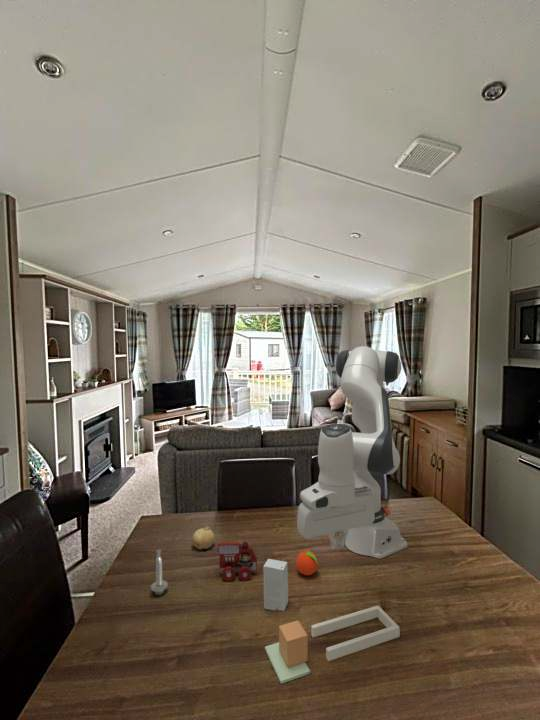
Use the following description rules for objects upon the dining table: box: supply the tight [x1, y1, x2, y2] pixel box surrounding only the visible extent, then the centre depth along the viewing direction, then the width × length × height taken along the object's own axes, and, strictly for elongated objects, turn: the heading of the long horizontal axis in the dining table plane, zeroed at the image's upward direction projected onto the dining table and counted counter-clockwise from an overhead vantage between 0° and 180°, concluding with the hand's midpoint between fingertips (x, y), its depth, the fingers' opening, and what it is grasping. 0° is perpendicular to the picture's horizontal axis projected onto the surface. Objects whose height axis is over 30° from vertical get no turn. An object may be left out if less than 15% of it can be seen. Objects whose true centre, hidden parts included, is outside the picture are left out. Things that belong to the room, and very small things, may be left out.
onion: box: [191, 524, 216, 551], centre depth 136 cm, size 8×8×7 cm
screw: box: [150, 549, 169, 596], centre depth 110 cm, size 13×5×5 cm
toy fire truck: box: [217, 540, 258, 582], centre depth 119 cm, size 7×12×10 cm, turn 93°
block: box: [278, 620, 309, 668], centre depth 87 cm, size 5×5×6 cm
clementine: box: [295, 550, 319, 576], centre depth 119 cm, size 8×7×7 cm
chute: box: [310, 605, 401, 662], centre depth 93 cm, size 20×8×3 cm, turn 111°
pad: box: [264, 641, 312, 685], centre depth 87 cm, size 10×10×1 cm
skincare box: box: [262, 558, 289, 612], centre depth 104 cm, size 6×4×12 cm
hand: (337, 546), depth 92 cm, fingers closed
